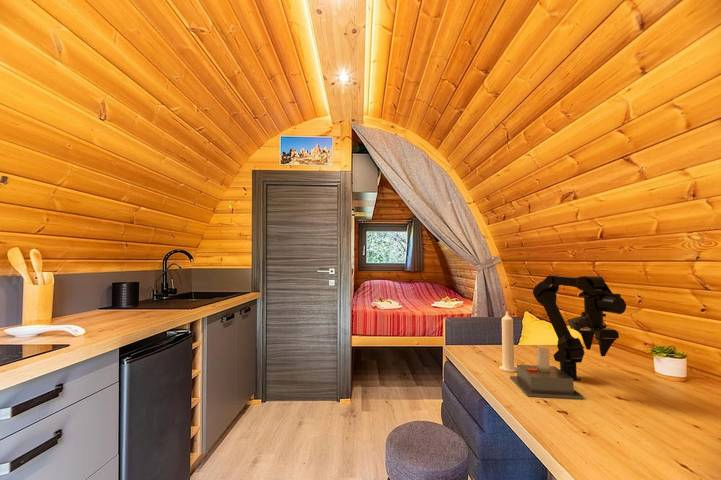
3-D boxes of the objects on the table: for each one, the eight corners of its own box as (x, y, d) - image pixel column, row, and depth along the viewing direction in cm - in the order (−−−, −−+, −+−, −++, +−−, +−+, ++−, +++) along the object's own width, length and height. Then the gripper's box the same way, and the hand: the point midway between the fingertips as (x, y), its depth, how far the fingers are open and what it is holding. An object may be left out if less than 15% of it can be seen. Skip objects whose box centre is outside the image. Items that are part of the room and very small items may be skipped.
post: (536, 371, 125) (536, 346, 126) (546, 371, 125) (545, 347, 125) (540, 374, 122) (539, 349, 122) (550, 374, 121) (549, 349, 122)
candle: (514, 367, 147) (512, 309, 149) (520, 372, 140) (518, 312, 142) (497, 366, 148) (496, 309, 149) (502, 371, 141) (501, 311, 142)
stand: (510, 378, 133) (509, 361, 133) (558, 380, 131) (557, 363, 131) (527, 396, 115) (527, 376, 115) (583, 399, 113) (582, 379, 113)
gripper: (558, 306, 134) (559, 345, 133) (584, 313, 116) (586, 359, 115) (588, 306, 133) (589, 346, 132) (619, 314, 114) (621, 360, 113)
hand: (595, 352), depth 123 cm, fingers open, 9 cm apart
